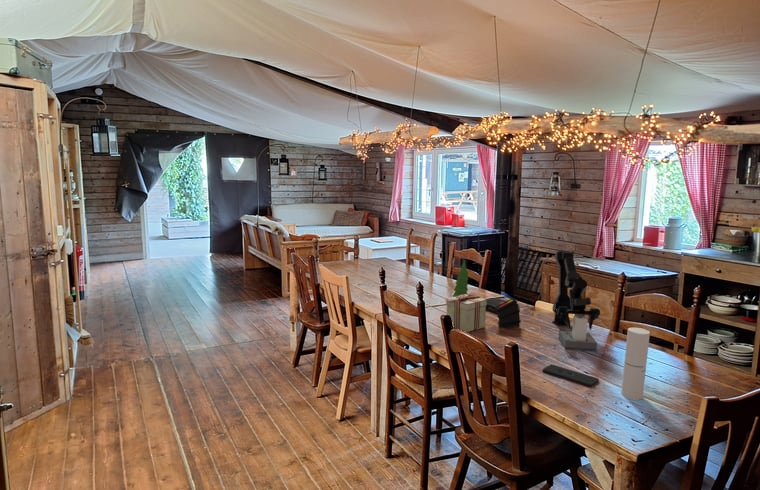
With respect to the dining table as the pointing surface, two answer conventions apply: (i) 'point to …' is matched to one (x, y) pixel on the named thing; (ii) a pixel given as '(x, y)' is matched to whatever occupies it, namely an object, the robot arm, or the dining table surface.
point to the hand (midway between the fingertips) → (580, 328)
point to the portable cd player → (494, 304)
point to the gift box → (467, 311)
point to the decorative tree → (461, 281)
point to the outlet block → (577, 342)
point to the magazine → (508, 314)
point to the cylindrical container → (635, 363)
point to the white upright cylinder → (579, 328)
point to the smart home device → (571, 375)
